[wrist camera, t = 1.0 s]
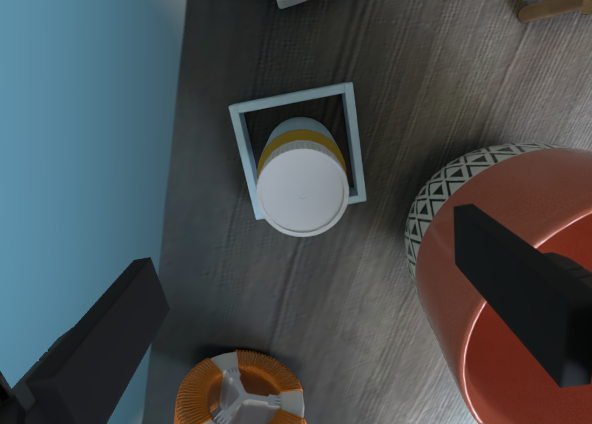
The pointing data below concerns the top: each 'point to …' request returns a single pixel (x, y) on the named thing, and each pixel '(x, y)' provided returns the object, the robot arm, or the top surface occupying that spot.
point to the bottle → (302, 178)
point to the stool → (553, 9)
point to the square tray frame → (344, 88)
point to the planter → (469, 302)
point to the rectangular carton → (288, 3)
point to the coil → (240, 391)
